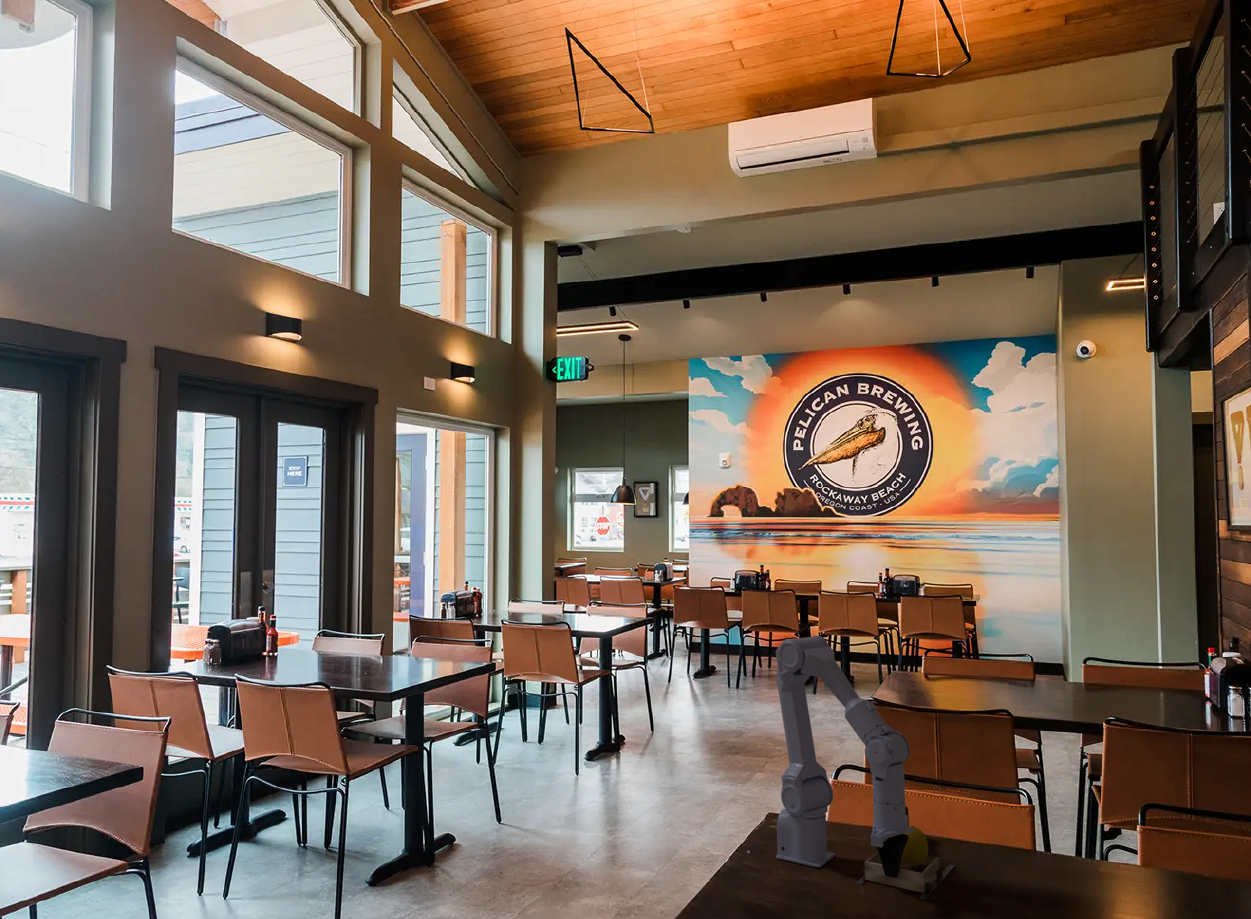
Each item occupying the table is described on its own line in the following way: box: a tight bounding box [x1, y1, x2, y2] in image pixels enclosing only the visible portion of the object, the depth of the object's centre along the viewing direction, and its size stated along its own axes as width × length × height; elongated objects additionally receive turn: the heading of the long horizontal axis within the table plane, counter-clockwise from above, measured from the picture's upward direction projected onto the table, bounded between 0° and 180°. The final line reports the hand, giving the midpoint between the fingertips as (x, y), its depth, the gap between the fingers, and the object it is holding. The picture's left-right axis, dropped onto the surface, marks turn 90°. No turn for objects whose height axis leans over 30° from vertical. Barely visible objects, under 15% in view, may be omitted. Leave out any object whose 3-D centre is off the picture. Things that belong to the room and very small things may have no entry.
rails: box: [855, 863, 956, 901], centre depth 168 cm, size 13×19×1 cm
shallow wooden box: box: [861, 851, 944, 894], centre depth 167 cm, size 13×10×3 cm
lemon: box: [902, 825, 929, 869], centre depth 172 cm, size 6×6×8 cm
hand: (891, 876), depth 162 cm, fingers closed
